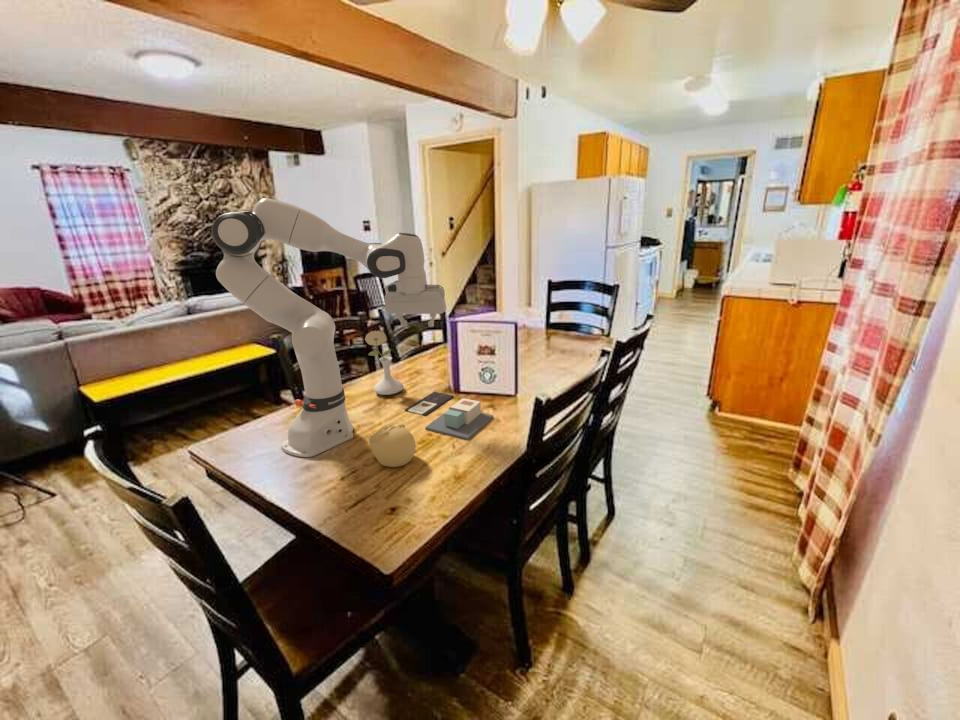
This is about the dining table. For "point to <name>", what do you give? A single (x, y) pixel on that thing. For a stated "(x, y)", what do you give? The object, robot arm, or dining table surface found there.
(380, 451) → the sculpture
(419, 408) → the chocolate bar
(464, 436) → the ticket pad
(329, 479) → the dining table surface
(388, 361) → the flower in vase
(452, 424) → the stub
